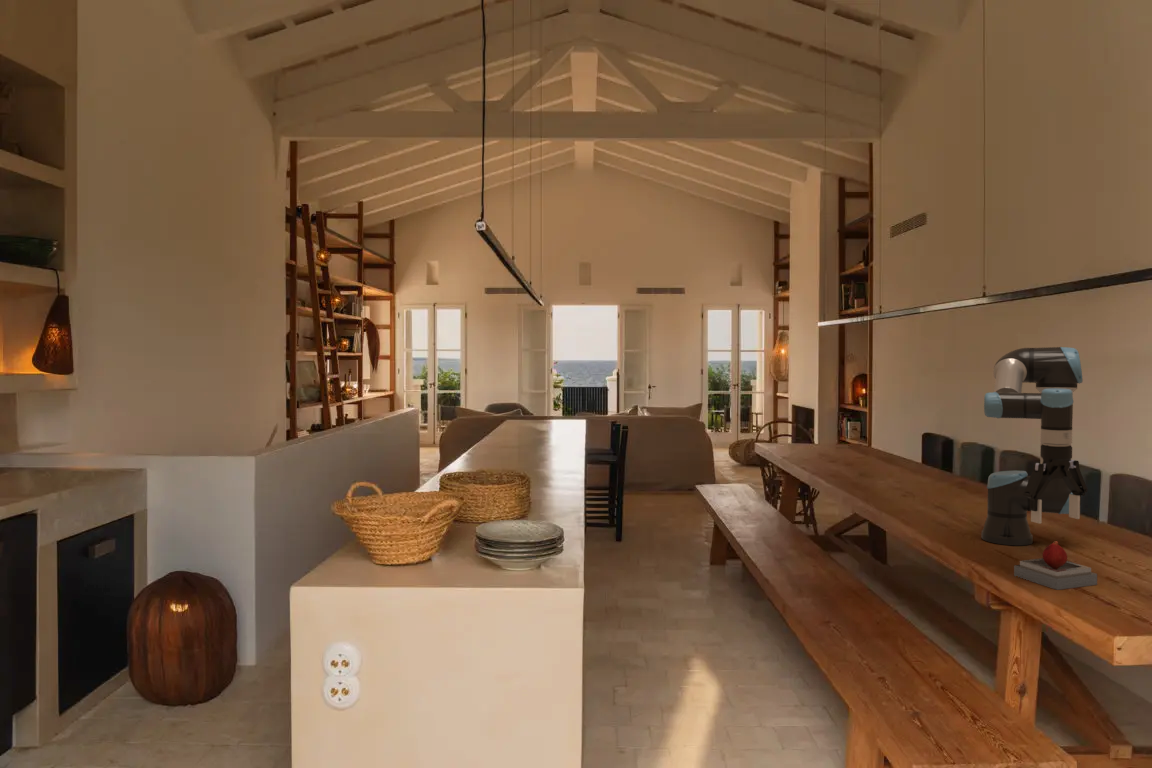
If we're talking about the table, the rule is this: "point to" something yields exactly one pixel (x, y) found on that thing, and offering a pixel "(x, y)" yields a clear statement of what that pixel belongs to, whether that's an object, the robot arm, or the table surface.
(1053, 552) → the onion
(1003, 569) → the table surface
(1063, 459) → the robot arm
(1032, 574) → the silver shallow square tray
